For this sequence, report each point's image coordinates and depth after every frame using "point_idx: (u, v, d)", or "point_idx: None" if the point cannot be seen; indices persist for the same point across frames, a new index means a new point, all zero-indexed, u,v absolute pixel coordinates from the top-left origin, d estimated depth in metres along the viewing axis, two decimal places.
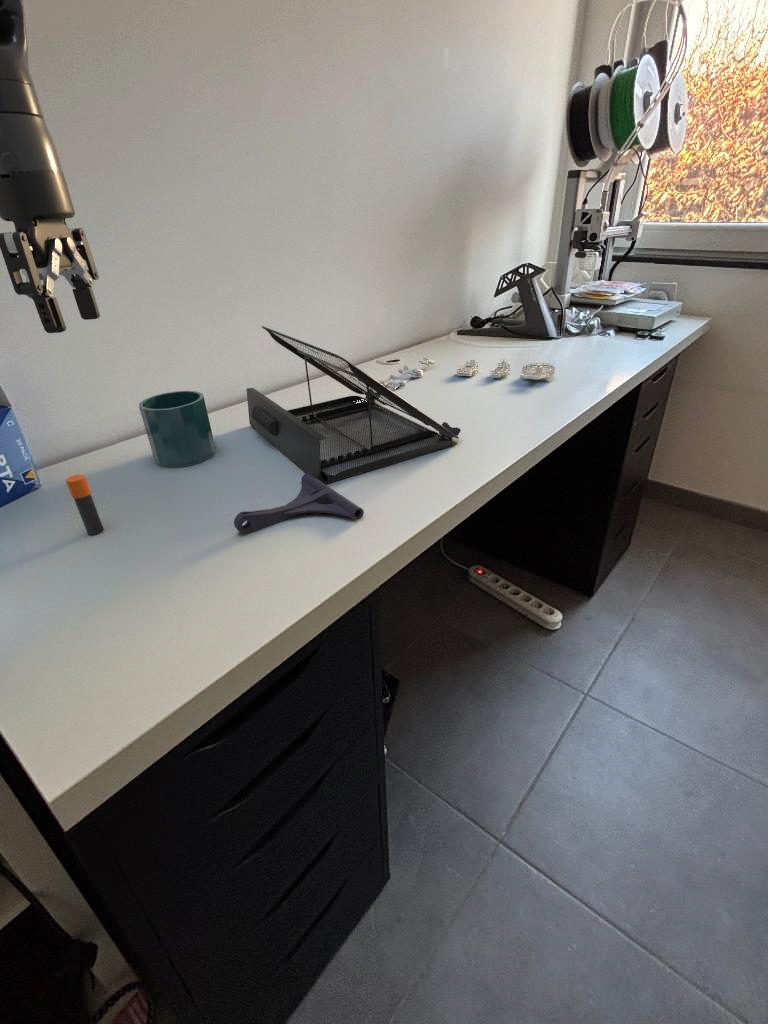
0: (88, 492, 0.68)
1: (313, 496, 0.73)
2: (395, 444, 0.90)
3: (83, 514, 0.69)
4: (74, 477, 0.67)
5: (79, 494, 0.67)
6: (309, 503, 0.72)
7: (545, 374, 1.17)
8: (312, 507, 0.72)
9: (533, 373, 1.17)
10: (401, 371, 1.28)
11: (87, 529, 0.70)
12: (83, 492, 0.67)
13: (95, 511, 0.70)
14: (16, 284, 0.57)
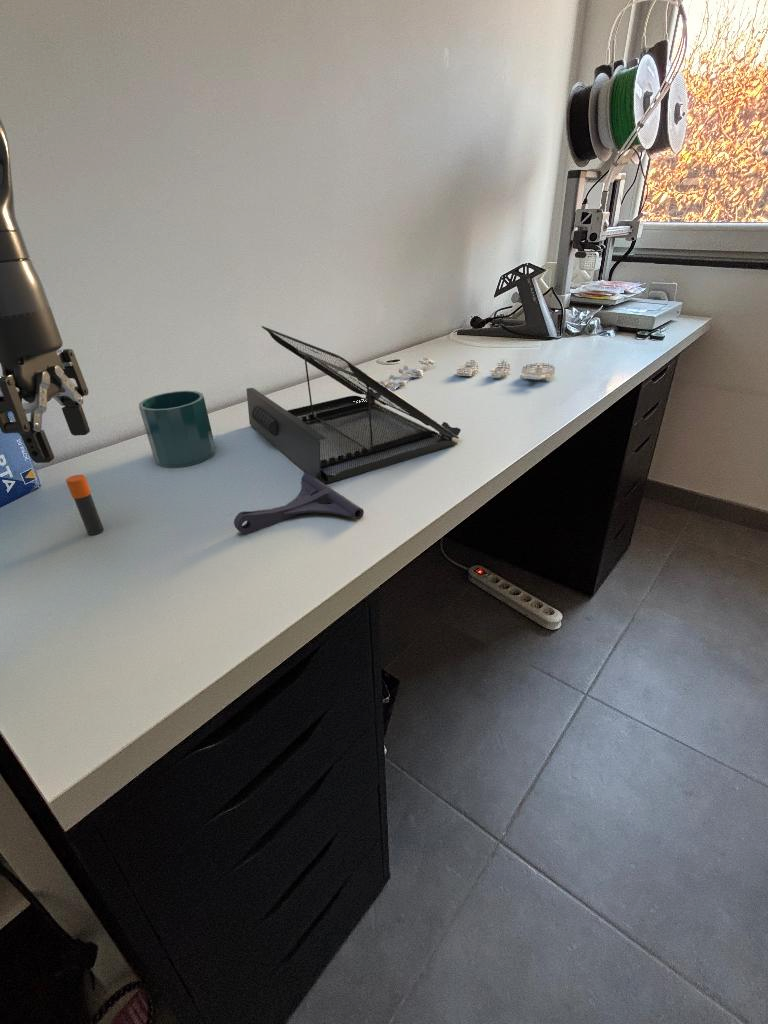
0: (88, 492, 0.68)
1: (313, 496, 0.73)
2: (395, 444, 0.90)
3: (83, 514, 0.69)
4: (74, 477, 0.67)
5: (79, 494, 0.67)
6: (309, 503, 0.72)
7: (545, 374, 1.17)
8: (312, 507, 0.72)
9: (533, 373, 1.17)
10: (401, 371, 1.28)
11: (87, 529, 0.70)
12: (83, 492, 0.67)
13: (95, 511, 0.70)
14: (3, 425, 0.56)
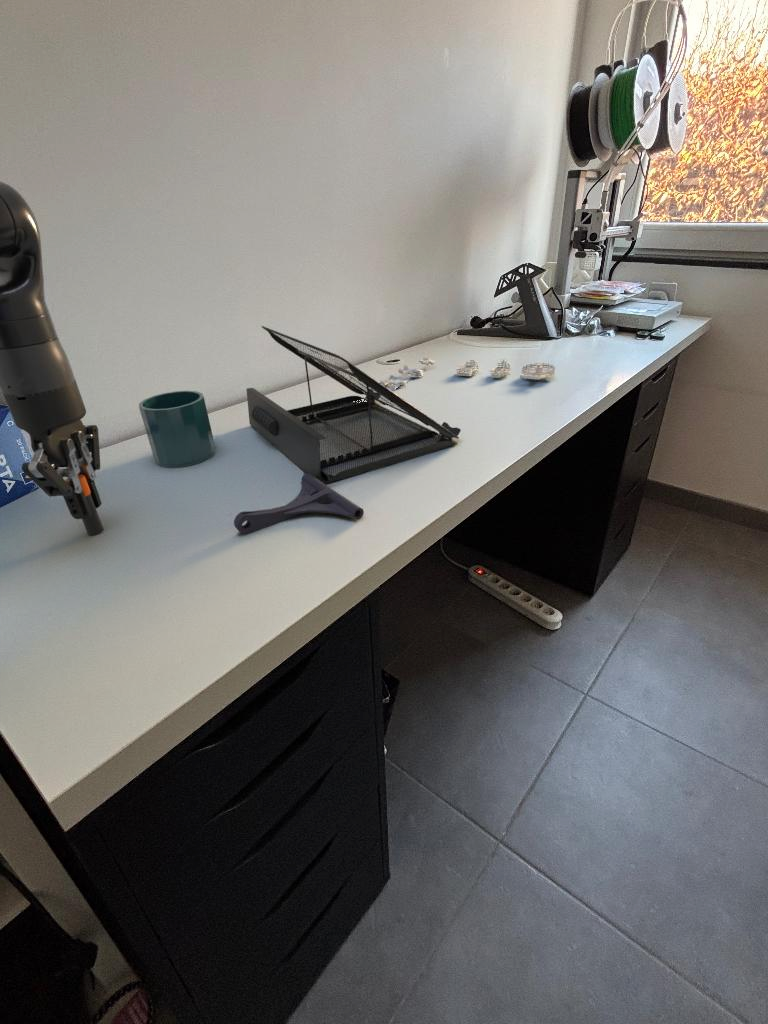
0: (88, 492, 0.68)
1: (313, 496, 0.73)
2: (395, 444, 0.90)
3: None
4: None
5: None
6: (309, 503, 0.72)
7: (545, 374, 1.17)
8: (312, 507, 0.72)
9: (533, 373, 1.17)
10: (401, 371, 1.28)
11: (87, 529, 0.70)
12: None
13: (95, 511, 0.70)
14: (49, 493, 0.63)
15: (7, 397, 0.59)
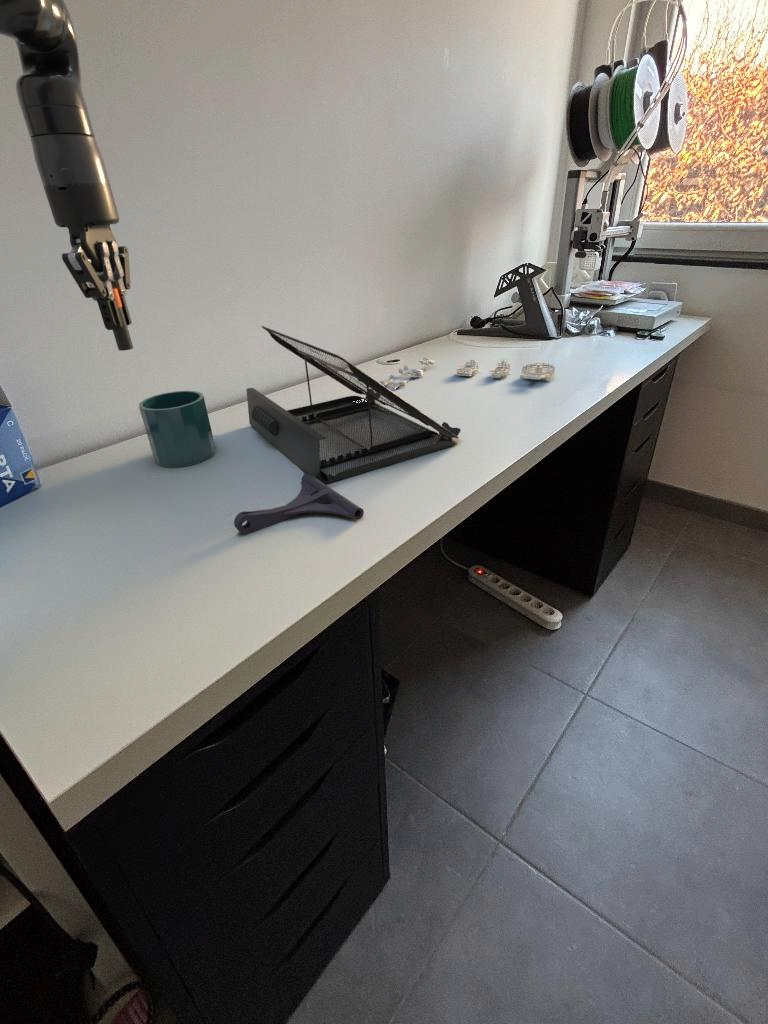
0: (120, 304, 0.73)
1: (313, 496, 0.73)
2: (395, 444, 0.90)
3: None
4: None
5: None
6: (309, 503, 0.72)
7: (545, 374, 1.17)
8: (312, 507, 0.72)
9: (533, 373, 1.17)
10: (401, 371, 1.28)
11: (118, 344, 0.75)
12: None
13: (126, 326, 0.74)
14: (85, 292, 0.68)
15: (49, 189, 0.63)
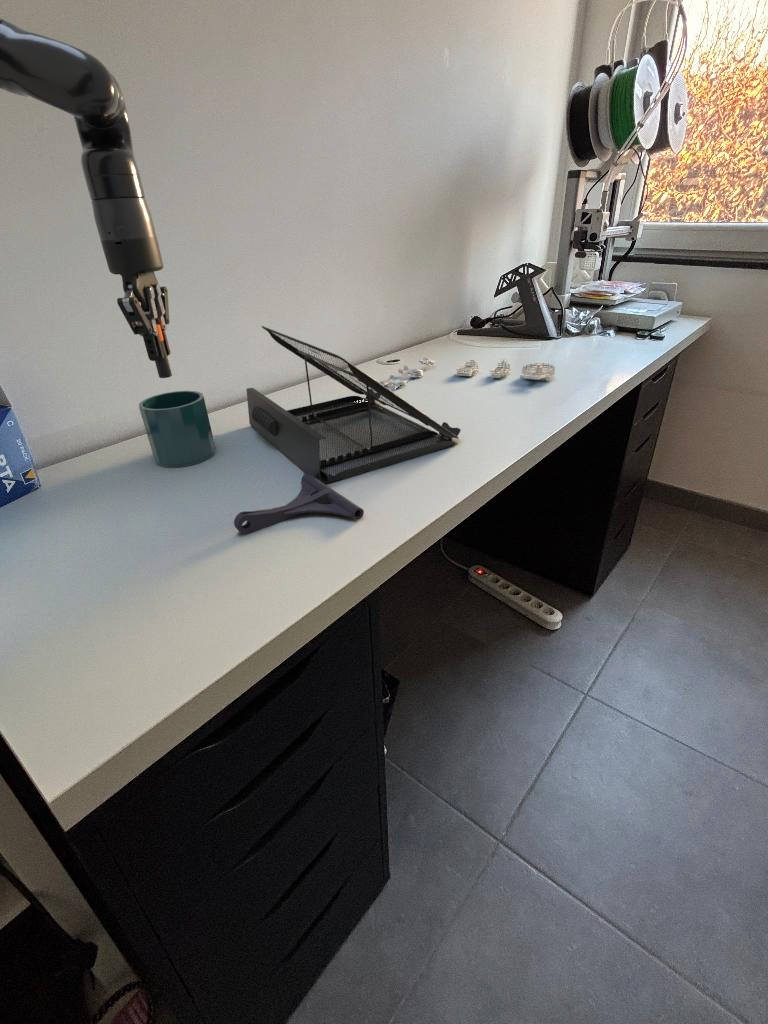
0: (162, 338, 0.83)
1: (313, 496, 0.73)
2: (395, 444, 0.90)
3: None
4: None
5: None
6: (309, 503, 0.72)
7: (545, 374, 1.17)
8: (312, 507, 0.72)
9: (533, 373, 1.17)
10: (401, 371, 1.28)
11: (159, 372, 0.85)
12: None
13: (166, 357, 0.84)
14: (134, 330, 0.78)
15: (106, 243, 0.73)
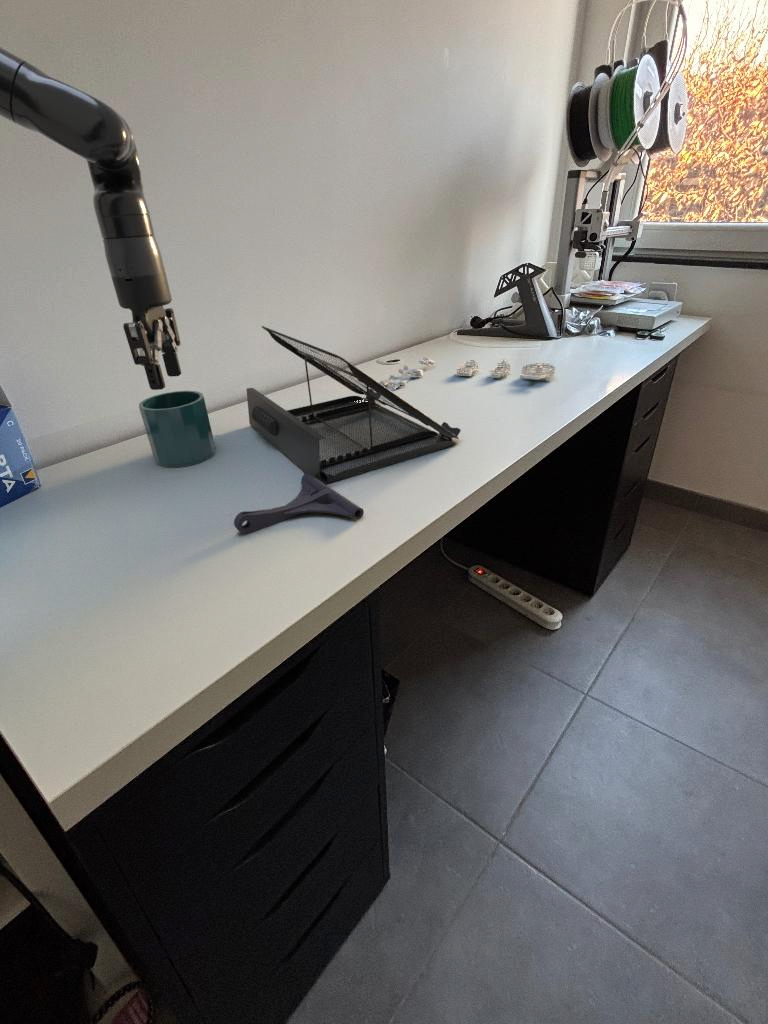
0: None
1: (313, 496, 0.73)
2: (395, 444, 0.90)
3: None
4: None
5: None
6: (309, 503, 0.72)
7: (545, 374, 1.17)
8: (312, 507, 0.72)
9: (533, 373, 1.17)
10: (401, 371, 1.28)
11: None
12: None
13: None
14: (135, 358, 0.78)
15: (117, 279, 0.76)
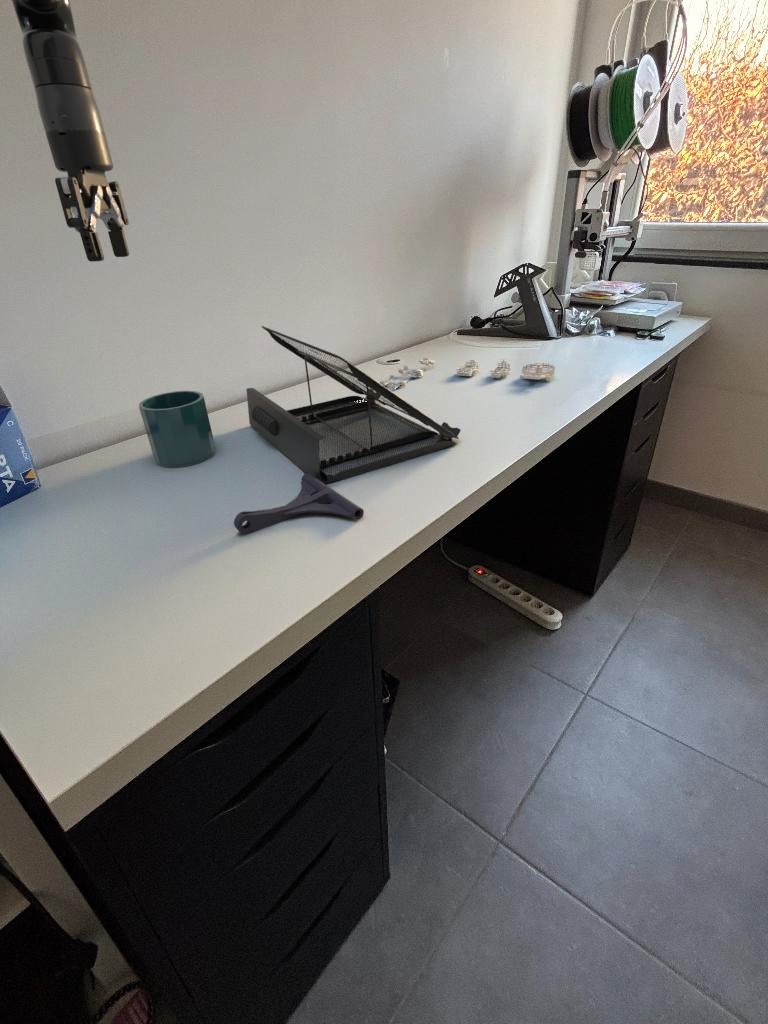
0: None
1: (313, 496, 0.73)
2: (395, 444, 0.90)
3: None
4: None
5: None
6: (309, 503, 0.72)
7: (545, 374, 1.17)
8: (312, 507, 0.72)
9: (533, 373, 1.17)
10: (401, 371, 1.28)
11: None
12: None
13: None
14: (68, 218, 0.73)
15: (50, 134, 0.71)
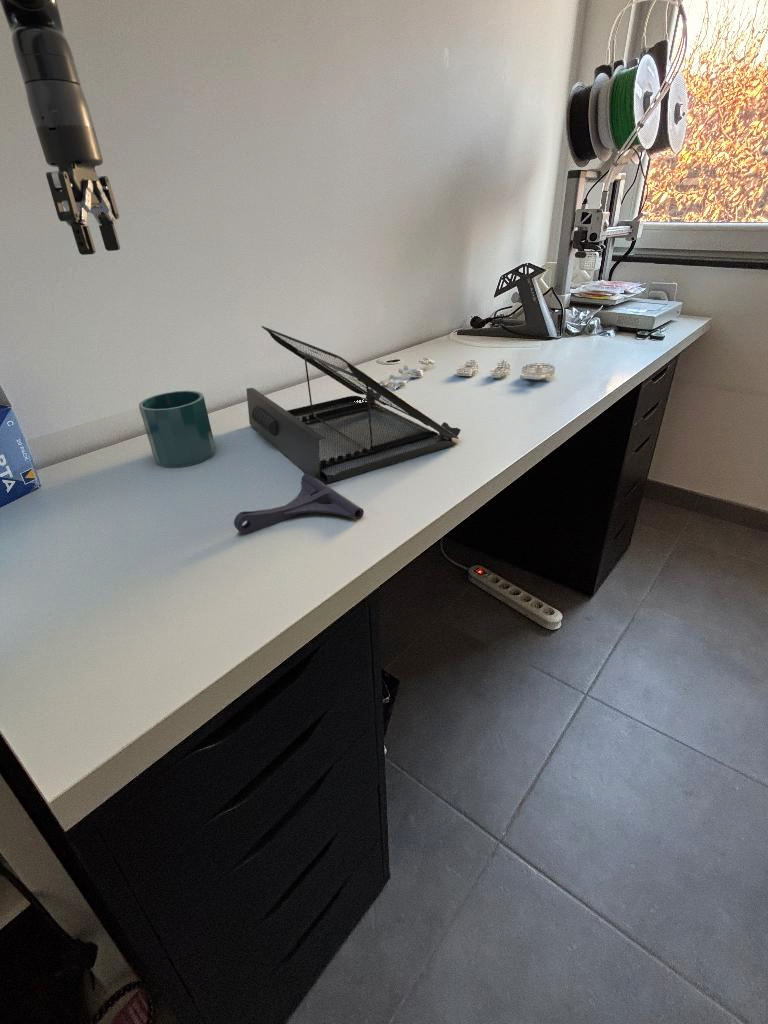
0: None
1: (313, 496, 0.73)
2: (395, 444, 0.90)
3: None
4: None
5: None
6: (309, 503, 0.72)
7: (545, 374, 1.17)
8: (312, 507, 0.72)
9: (533, 373, 1.17)
10: (401, 371, 1.28)
11: None
12: None
13: None
14: (59, 212, 0.74)
15: (40, 129, 0.73)
